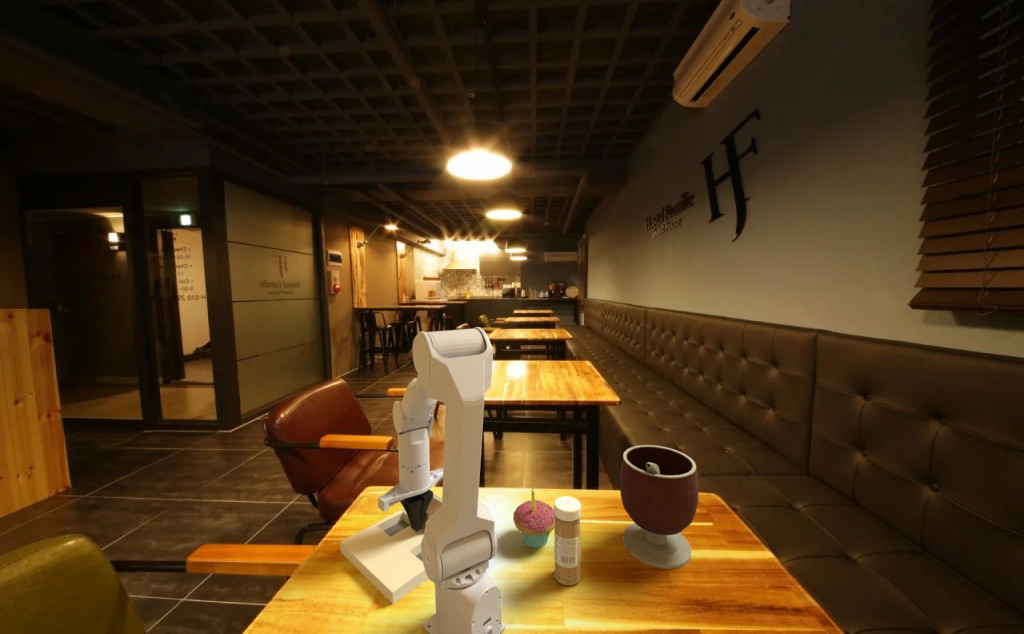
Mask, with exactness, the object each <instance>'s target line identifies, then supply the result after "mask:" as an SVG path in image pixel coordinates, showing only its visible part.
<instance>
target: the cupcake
mask: <svg viewBox="0 0 1024 634" xmlns="http://www.w3.org/2000/svg"><path fill="white" fill-rule="evenodd" d="M530 491H531V493H530V494H531V500H527V501H524V502H523V503H520V504H519V505H518V506H517V507H516V509H515V510H514V511H513V513H512V514H513V517H512V519H513V523H514V526H515V528H516V529H517V531H519V532H520V535H521V536H522V539H523V542H524V544H525V545H526V546H528V547H530V548H535V549H536V548H541V547H543V546H546V544H547V543H548V540H549V536H550V534H551V532H552V531H553V530H555V516H554V508H553V507H552V506H551V505H549V503H546V502H543V501H542V500H537V499H536V490H535V489H534V487H533V486H532V488H531V490H530Z"/></svg>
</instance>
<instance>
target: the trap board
mask: <svg viewBox="0 0 1024 634" xmlns="http://www.w3.org/2000/svg"><path fill="white" fill-rule="evenodd" d="M433 498H434V499H435V500H437V501H439V502H441V503H442V498H441V496H438V495H436V494H435V493H433ZM423 536H424V530H423V529H421V530H419V531H417V532H416V531H415V530H414V529H412V528H411V525H410V522H409V518H408V516H407V513H406V511H405V509H404V507H403V508H402V509H400V510H398V511H396V512H394V513H393V514H391V515H389V516H386V517H385V518H383V519H380V520H379V521H376V522H375V523H374V524H372V525H370V526H367V527H366V528H364V529H362V530H360V531H357V532H356V533H355V534H353V535H350V536H349V537H346V538H345V539H343V540H342V541H340V542H339V549H340V550H339V551H340V552H339V553H341V554H342V555H343V556H344V557H345V558H346V559H347V560H348V561H349V562H350V563H351V564H352V565H353V566H354V567H355V568H356V569H357V570H358V571H359V572H360V573H361V575H363V576H364V577H365V578H366V579H367V580H368V581H369V582H370V583H371V584H372V585H373V586H374V587H375V588H376V589H377V590H378V591H379V592H380V593H381V594H382V595H383V596H384V597H385V598H386V599H387V600H388V601H389V602H390V603H391V604H392V605H394V604H396V603H397V602H398V601H400V600H401V599H402V598H404V597H405V596H406V595H408V594H410V593H411V592H412V591H413V590H415V589H416V588H418V587H419V586H420V585H422V584H423V583H424V582H425V581H427V580H428V579H429V578H428V576H427V574H426V572H425V568H424V565H423V560H422V554H421V542H422V539H423Z"/></svg>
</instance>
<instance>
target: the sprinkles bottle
mask: <svg viewBox="0 0 1024 634" xmlns="http://www.w3.org/2000/svg"><path fill="white" fill-rule="evenodd" d="M553 510H554V516H555V528H554V549H553V550H554V552H553V553H554V572H553V576H554V579H555V580H556V581H557V582H558V583H559V584H561V585H562V586H569V587H570V586H574V585H576V584H578V583H579V582H580V580H581V572H580V571H581V567H580V566H581V565H580V564H581V563H580V562H581V528H580V527H581V523H580V522H581V521H580V519H581V516H582V505H581V502H580V501H579V500H578V499H577V498H575V497H573V496H569V495H568V496H560V497H558V498H556V499H555V500H554V502H553Z"/></svg>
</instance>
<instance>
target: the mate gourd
mask: <svg viewBox="0 0 1024 634" xmlns="http://www.w3.org/2000/svg"><path fill="white" fill-rule="evenodd" d="M622 455H623V457H622V461H621V465H620V466H621V467H620V471H619V492H620V496H621V497H620V498H621V502H622V506H623V508H624V510H625V512H626V513H627V515H628V516H629V517H630V519H631V520H632V522H633V523H632V524H630V525H628V526H627V527H625V529H624V530H623V532H622V542H623V546H624V547H625V549H626V551H628V553H629V554H630V555H631V556H632V557H634V558H635V559H637V561H640V562H641V563H643V564H645V565H648V566H651V567H654V568H658V569H665V570H672V569H678V568H682V567H684V566H685V565H687V564H689V562H690V560H691V558H692V547H691V544H690V543H689V541H688V540H687V538H686V537H685V536H684V535H683V534H681V532H683V531H684V530H685V529H686V528H688V527H689V526H690V525H691V524H692V523H693V520H694V518H695V516H696V513H697V509H698V508H697V507H698V505H699V490H700V489H699V477H698V472H697V465H696V462H695V461H694V459H692V457H690V456H689V455H687V454H685V453H684V452H681V451H680V450H679V451H678V450H676V449H674V448H671V447H666V446H661V445H654V444H653V445H651V444H643V445H634V446H631V447H628V448H627V449H626V450H625V451H624V452H623V454H622Z"/></svg>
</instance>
